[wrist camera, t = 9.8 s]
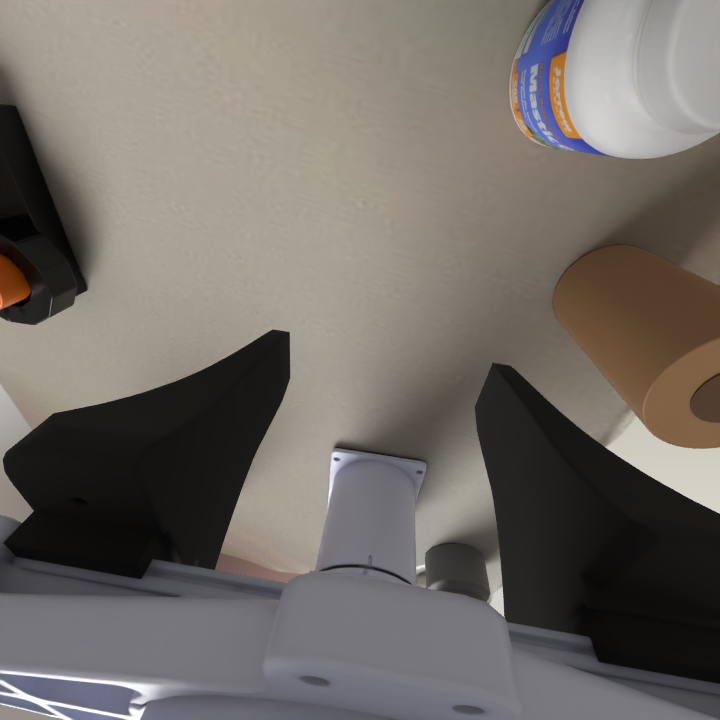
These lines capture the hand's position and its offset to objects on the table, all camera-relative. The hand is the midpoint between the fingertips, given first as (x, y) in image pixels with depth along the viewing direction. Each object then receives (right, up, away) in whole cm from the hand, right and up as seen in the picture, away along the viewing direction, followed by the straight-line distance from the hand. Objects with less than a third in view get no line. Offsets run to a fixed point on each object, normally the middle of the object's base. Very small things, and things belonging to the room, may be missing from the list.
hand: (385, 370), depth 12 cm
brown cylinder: (+13, +4, +7) cm, 15 cm away
